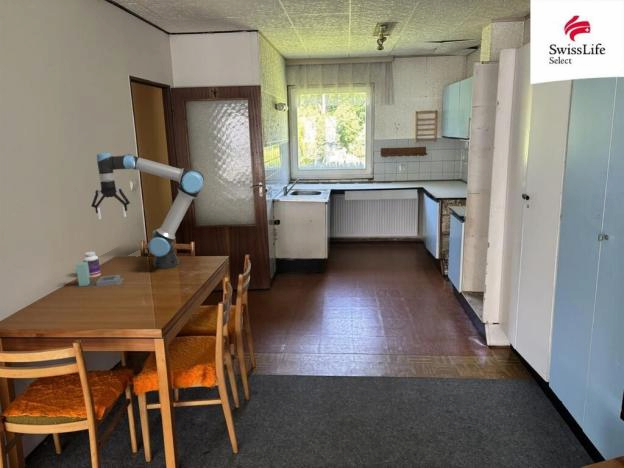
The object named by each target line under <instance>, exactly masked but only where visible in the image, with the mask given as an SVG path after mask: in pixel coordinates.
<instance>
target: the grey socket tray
mask: <svg viewBox="0 0 624 468" xmlns="http://www.w3.org/2000/svg"><path fill="white" fill-rule="evenodd" d="M123 280H124V278H121V275H120V274H115V275H105V276H104V275H103V276H99V278H98V279H97V280H96V282H95V284H94V286H93V288H98V287H108V286H118V285H121V284H122V282H123Z"/></svg>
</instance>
